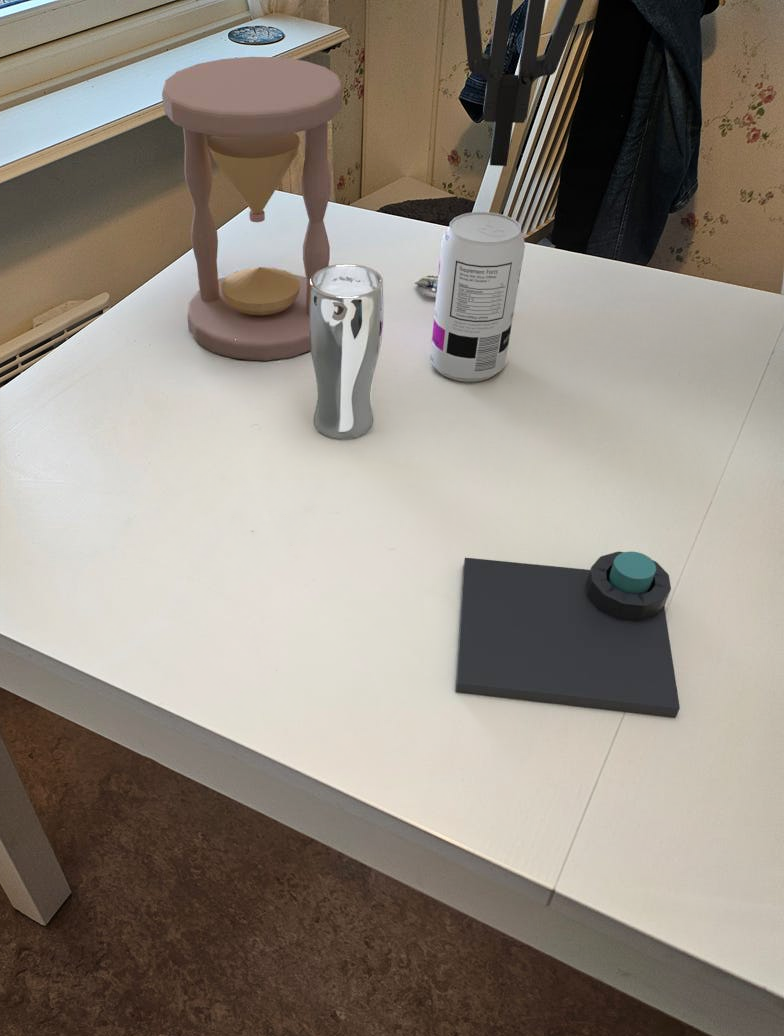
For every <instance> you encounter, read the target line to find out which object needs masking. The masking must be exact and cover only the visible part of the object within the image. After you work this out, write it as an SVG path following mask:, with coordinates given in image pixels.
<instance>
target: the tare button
mask: <svg viewBox="0 0 784 1036" xmlns="http://www.w3.org/2000/svg"><path fill="white" fill-rule="evenodd" d="M622 552H623V553H621V554H619V555H618V556H617V557H616V558H615V560H614V563H613V566H612V569H611V572H610V575H609V580H610V583H611V584H612V586H613V587H614V588H616V589H618V590H620V591H622V592H624V593H629V594H642V593H644V592H646V591H647V590H648V589H649V588H650V585H651V583H652V580H653V577H654V575H655V572H656V565H655V563H654V562H653V559H652V558H651V557H650V556H648V555H646V554H643V553H641V552H639V551H622Z"/></svg>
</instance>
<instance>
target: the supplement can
mask: <svg viewBox="0 0 784 1036" xmlns="http://www.w3.org/2000/svg"><path fill="white" fill-rule="evenodd" d="M525 243H526V241H525V238H524V235H523V232H522V225H521V224H520V223H519V222H518V221H517V220H516V219H514V218H512V217H510V216H508V215H505V214H501V213H497V212H490V211H474V212H466V213H463V214H460V215H458V216H455V217H454V218H452V220H451V221H449V226H448V227H447V229H446V230H445V232H444V233H443V235H442V236H441V244H440V245H441V246H440V255H439V265H438V275H437V276H438V284H437V294H436V297H435V304H434V314H433V315H434V316H433V326H432V336H431V344H430V353H429V354H430V355H429V361H430V363H431V364H432V366H433V367H434V369H436V370H437V372H439V373H440V374H441V375H443V376H444V377H446V378H449V379H452V380H454V381H459V382H465V383H466V382H480V381H484V380H488V379H490V378H492V377H493V376H496V374H497V373H499V372H501V371H502V369H503V368H504V367H505V365H506V361H507V356H508V349H509V343H510V337H511V331H512V326H513V321H514V320H513V319H514V315H515V314H514V313H515V309H516V308H515V307H516V302H517V297H518V290H519V284H520V279H521V273H522V267H523V260H524V254H525V249H526V244H525Z"/></svg>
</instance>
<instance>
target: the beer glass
mask: <svg viewBox="0 0 784 1036" xmlns="http://www.w3.org/2000/svg"><path fill="white" fill-rule="evenodd" d="M310 283H311V286H310V298H309V316H308V328H309V342H310V349H311V351H310V355H311V360H312V365H313V370H314V375H315V382H316V390H317V391H316V392H317V395H316V396H317V397H316V404H315V410H314V414H313V426H314V428H315V429H316V431H317V432H318V433H320V434H321V435H323V436H325V437H327V438H330V439H335V440H352V439H356V438H360V437H362V436H364V435H366V434H367V433H368V432H369V431H370V430H371V429H372V427H373V426H374V425H373V424H374V416H373V408H372V403H371V402H372V401H371V400H372V399H371V394H372V393H371V391H372V385H373V379H374V374H375V372H376V367H377V363H378V359H379V355H380V352H381V351H380V350H381V345H382V340H383V329H384V279H383V276H382V275H381V274H380V273H379V272H378V271H377V270H375V269H373V268H371V267H368V266H366V265H361V264H355V263H340V264H339V263H337V264H332V265H329V266H328V267H324V268H322V269H320V270H318V271H317V272H315V273H314V274H313V275H312V277H311V280H310Z"/></svg>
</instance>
